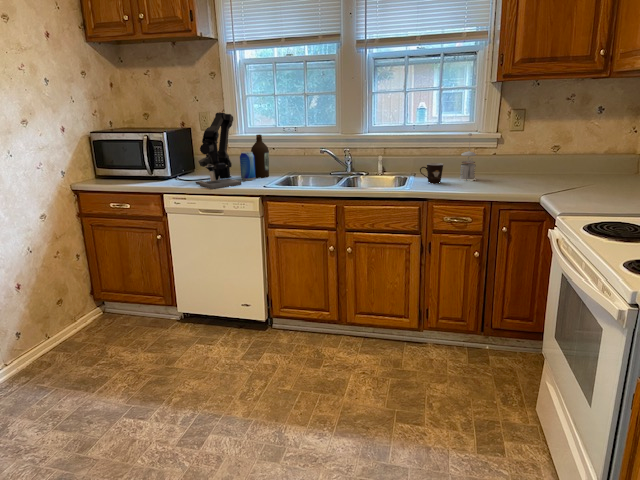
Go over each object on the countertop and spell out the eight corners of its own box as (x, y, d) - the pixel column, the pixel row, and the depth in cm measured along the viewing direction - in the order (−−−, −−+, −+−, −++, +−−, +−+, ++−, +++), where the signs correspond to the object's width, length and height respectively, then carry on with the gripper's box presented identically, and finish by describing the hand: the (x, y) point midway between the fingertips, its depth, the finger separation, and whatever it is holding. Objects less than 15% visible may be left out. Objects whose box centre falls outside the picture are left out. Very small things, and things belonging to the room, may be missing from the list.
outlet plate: (228, 181, 276) (228, 178, 276) (241, 184, 266) (241, 181, 265) (200, 186, 265) (199, 182, 265) (212, 189, 255) (211, 185, 254)
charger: (216, 180, 281) (215, 170, 279) (220, 181, 278) (219, 171, 276) (210, 181, 279) (209, 171, 277) (213, 182, 276) (212, 171, 274)
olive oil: (250, 178, 287) (247, 135, 280) (255, 175, 297) (253, 134, 290) (267, 178, 285) (264, 135, 278) (272, 175, 295) (270, 133, 288)
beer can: (258, 179, 282) (257, 151, 278) (247, 181, 276) (245, 153, 272) (249, 177, 288) (247, 151, 283) (238, 179, 282) (236, 152, 277)
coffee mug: (443, 181, 260) (444, 163, 257) (440, 184, 252) (441, 165, 249) (422, 180, 264) (423, 162, 261) (418, 183, 257) (419, 164, 254)
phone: (201, 182, 275) (201, 180, 275) (207, 184, 270) (206, 182, 270) (195, 183, 273) (195, 181, 273) (201, 185, 268) (201, 183, 268)
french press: (474, 177, 269) (477, 132, 261) (479, 181, 258) (482, 134, 250) (456, 178, 270) (459, 132, 262) (460, 181, 259) (463, 134, 251)
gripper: (192, 152, 276) (195, 179, 280) (207, 154, 262) (210, 183, 266) (209, 150, 282) (212, 177, 287) (225, 153, 269) (227, 180, 273)
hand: (215, 179), depth 278 cm, fingers closed on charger, 4 cm apart
